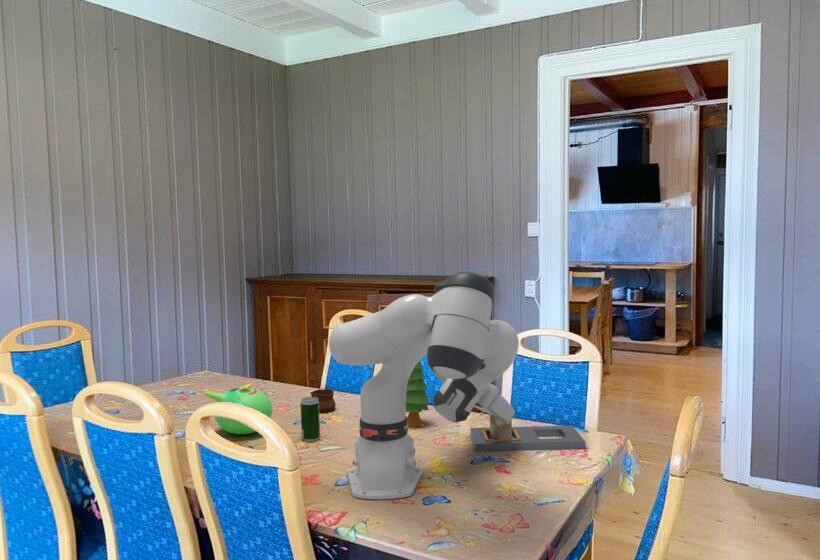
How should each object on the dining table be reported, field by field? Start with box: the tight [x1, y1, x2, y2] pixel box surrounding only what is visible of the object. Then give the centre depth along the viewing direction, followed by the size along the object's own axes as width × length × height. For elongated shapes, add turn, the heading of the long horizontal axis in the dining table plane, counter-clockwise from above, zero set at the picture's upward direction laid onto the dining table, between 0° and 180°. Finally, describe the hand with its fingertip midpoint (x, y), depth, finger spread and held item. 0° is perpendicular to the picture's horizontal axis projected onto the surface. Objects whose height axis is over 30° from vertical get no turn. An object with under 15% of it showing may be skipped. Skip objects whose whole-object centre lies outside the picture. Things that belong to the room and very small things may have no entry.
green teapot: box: [203, 383, 273, 435], centre depth 191 cm, size 18×17×15 cm
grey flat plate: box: [470, 425, 586, 452], centre depth 178 cm, size 14×30×2 cm, turn 90°
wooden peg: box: [489, 403, 513, 439], centre depth 178 cm, size 4×4×10 cm
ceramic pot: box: [310, 388, 337, 415], centre depth 214 cm, size 18×18×7 cm
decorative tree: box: [406, 360, 430, 428], centre depth 195 cm, size 10×9×30 cm
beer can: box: [299, 396, 321, 443], centre depth 184 cm, size 5×5×12 cm
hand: (502, 418), depth 178 cm, fingers closed on wooden peg, 4 cm apart
